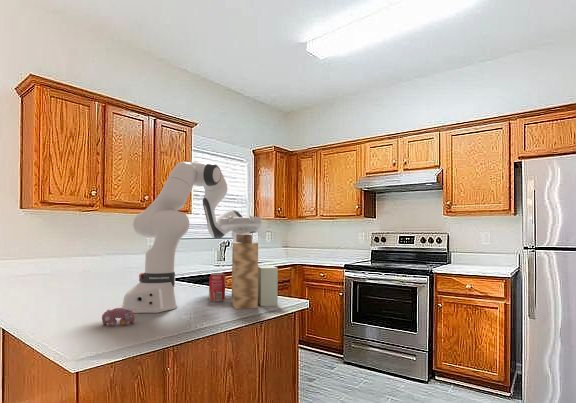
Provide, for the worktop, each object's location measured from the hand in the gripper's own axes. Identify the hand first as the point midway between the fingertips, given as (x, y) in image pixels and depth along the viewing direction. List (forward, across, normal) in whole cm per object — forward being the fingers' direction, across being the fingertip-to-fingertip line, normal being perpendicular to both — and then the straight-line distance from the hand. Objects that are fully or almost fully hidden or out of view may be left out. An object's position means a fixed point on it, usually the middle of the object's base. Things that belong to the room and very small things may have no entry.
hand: (241, 217), depth 190 cm
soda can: (-2, -12, +39) cm, 41 cm away
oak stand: (+10, -1, +44) cm, 45 cm away
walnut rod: (+15, 0, +18) cm, 23 cm away
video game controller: (+38, -43, +52) cm, 77 cm away
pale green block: (+4, +8, +42) cm, 43 cm away
